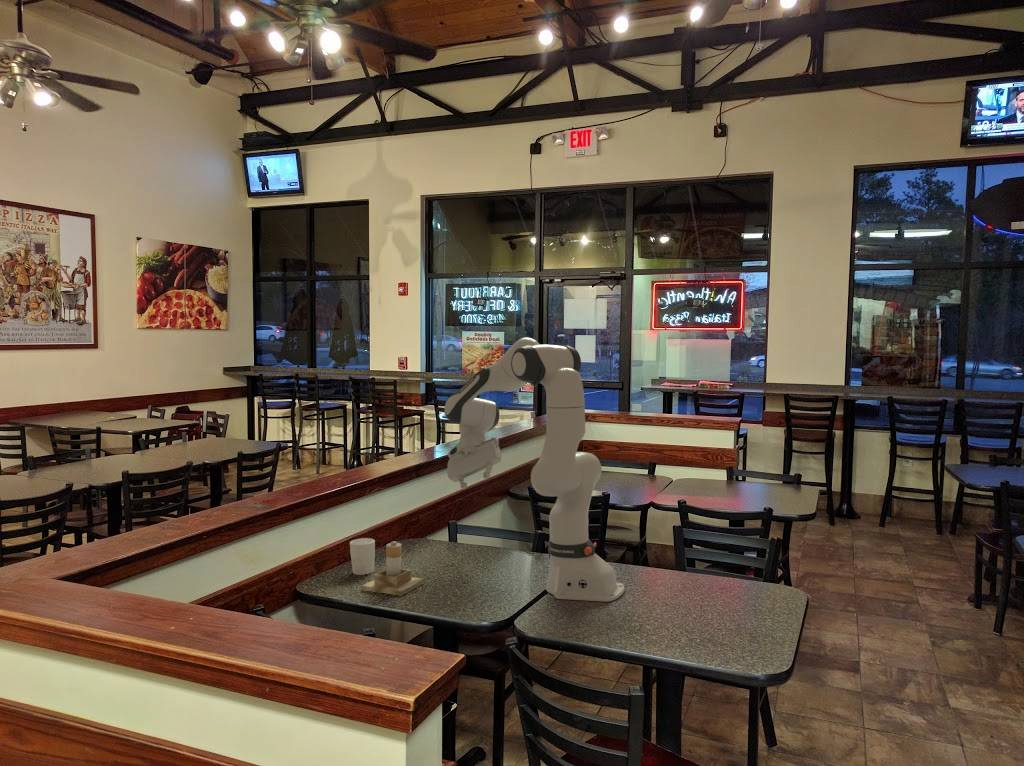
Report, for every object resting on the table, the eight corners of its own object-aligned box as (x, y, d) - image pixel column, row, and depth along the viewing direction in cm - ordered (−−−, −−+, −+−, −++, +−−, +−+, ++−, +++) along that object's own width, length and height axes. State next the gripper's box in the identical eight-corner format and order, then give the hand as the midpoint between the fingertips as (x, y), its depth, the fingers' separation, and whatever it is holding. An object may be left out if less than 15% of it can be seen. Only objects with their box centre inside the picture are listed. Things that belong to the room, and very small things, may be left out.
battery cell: (404, 581, 213) (404, 541, 213) (394, 585, 209) (395, 545, 209) (392, 578, 215) (392, 539, 215) (382, 582, 211) (383, 542, 211)
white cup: (348, 570, 230) (347, 540, 230) (372, 567, 234) (371, 536, 233) (354, 577, 223) (352, 546, 223) (378, 573, 226) (377, 542, 226)
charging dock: (424, 583, 215) (423, 568, 215) (401, 596, 204) (400, 581, 204) (386, 578, 221) (385, 564, 221) (361, 590, 210) (361, 575, 210)
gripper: (503, 439, 238) (506, 475, 229) (455, 461, 246) (457, 497, 238) (492, 431, 234) (495, 467, 225) (444, 454, 242) (445, 490, 234)
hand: (475, 483), depth 232 cm, fingers open, 8 cm apart
